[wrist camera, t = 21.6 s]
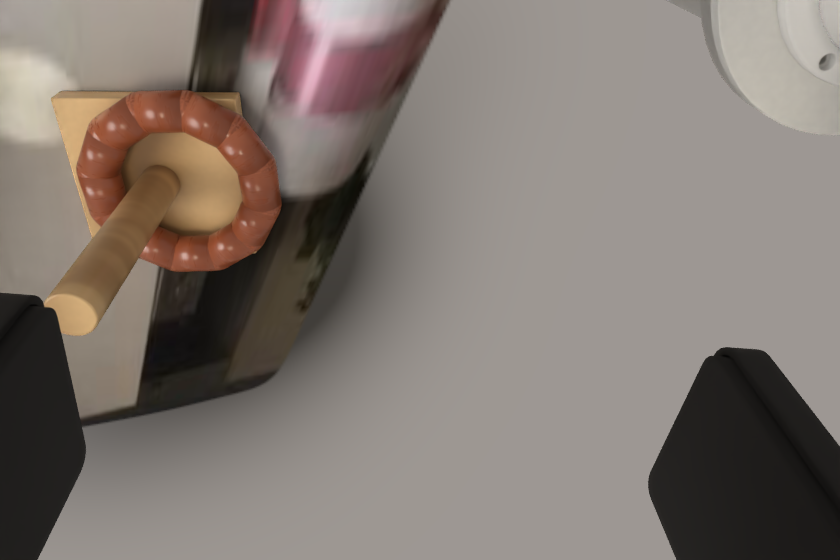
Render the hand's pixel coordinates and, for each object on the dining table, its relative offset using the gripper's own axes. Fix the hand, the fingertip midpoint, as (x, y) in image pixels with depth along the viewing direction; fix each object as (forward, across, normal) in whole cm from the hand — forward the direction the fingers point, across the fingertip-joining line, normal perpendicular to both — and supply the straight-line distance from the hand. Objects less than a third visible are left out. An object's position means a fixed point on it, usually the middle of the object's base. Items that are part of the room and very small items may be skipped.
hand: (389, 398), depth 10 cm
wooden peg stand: (+26, +11, +9) cm, 30 cm away
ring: (+24, +10, +9) cm, 27 cm away
